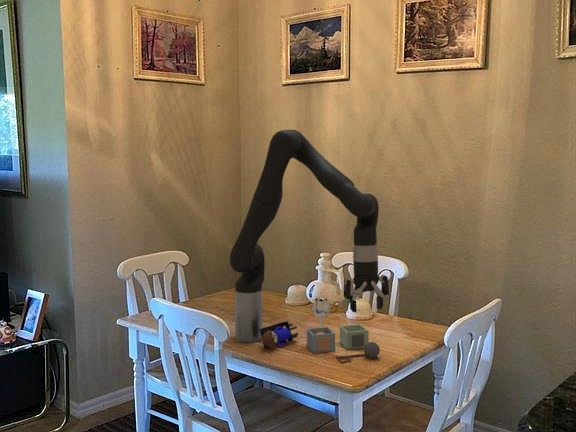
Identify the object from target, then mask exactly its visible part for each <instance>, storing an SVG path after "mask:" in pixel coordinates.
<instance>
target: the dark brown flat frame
mask: <svg viewBox="0 0 576 432" xmlns="http://www.w3.org/2000/svg"><path fill="white" fill-rule="evenodd" d="M359 357H361V358H363V357H365V358H366V359H367V361H374V360H375V361H376V360H379V359H380V358H379V356H377V357H375V358H369V357H367V356H366V355H365V353H360V354H349V355H338V356H335V359H336V360H337V361H339V363H340V364H344V363H345V364H346V363H352V360H351V358H352V359H353V358H359Z"/></svg>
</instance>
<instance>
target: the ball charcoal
mask: <svg viewBox="0 0 576 432" xmlns="http://www.w3.org/2000/svg"><path fill="white" fill-rule="evenodd" d="M380 352H381V351H380V346H379V344H378V343H376V342H374V341H369V342H368V343H367V344H366V345H365V346H364V349H363V354H365V355H366V356H367V357H369V358H375V357H379V354H380Z"/></svg>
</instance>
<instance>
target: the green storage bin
mask: <svg viewBox="0 0 576 432" xmlns="http://www.w3.org/2000/svg"><path fill="white" fill-rule="evenodd" d="M368 342H370V340H369V330H368V329H367V328H366V327H365V326H363V324H361V323H358V324H348V325H347V324H345V325H339V344H340V345H341V346H342V347H343V348H344V349H345V350H346V351H352V350H353V351H355V350H364V346H365V345H366V344H367V343H368Z"/></svg>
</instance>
